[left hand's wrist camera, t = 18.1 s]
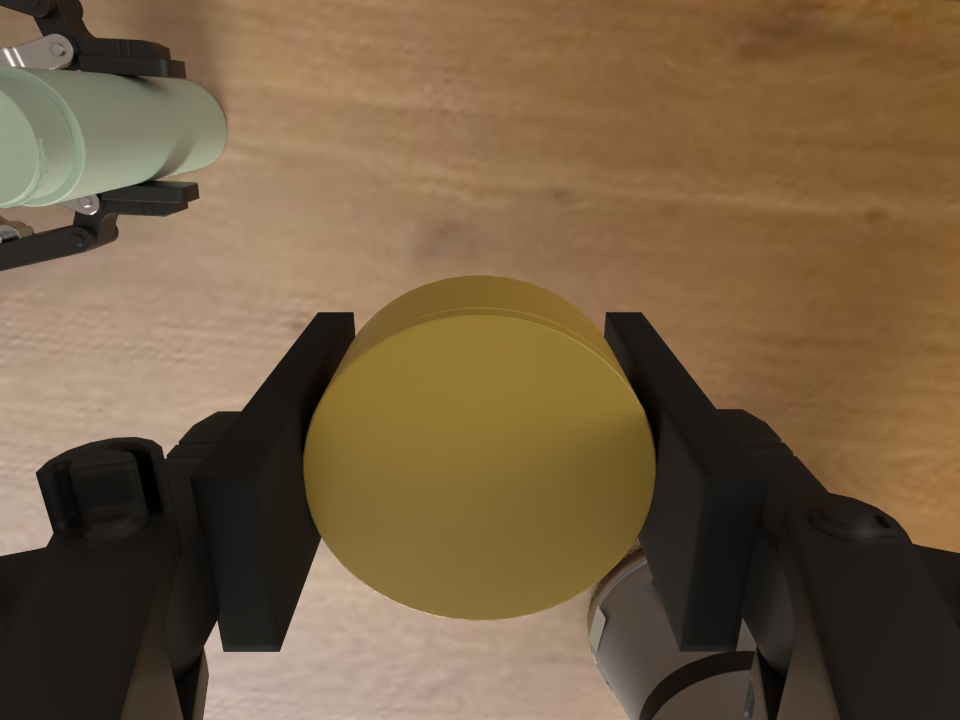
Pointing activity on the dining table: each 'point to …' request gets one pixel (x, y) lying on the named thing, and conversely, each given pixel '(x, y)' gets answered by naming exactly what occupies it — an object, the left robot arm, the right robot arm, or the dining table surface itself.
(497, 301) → the lid
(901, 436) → the dining table surface
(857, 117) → the dining table surface
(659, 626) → the left robot arm
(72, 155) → the jar
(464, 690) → the dining table surface
